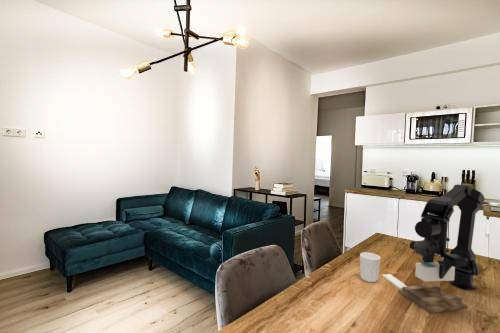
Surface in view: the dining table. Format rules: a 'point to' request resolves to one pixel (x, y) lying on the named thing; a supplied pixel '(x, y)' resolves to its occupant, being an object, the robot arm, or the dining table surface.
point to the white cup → (369, 266)
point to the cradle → (432, 298)
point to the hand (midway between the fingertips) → (434, 275)
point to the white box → (432, 272)
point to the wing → (394, 281)
